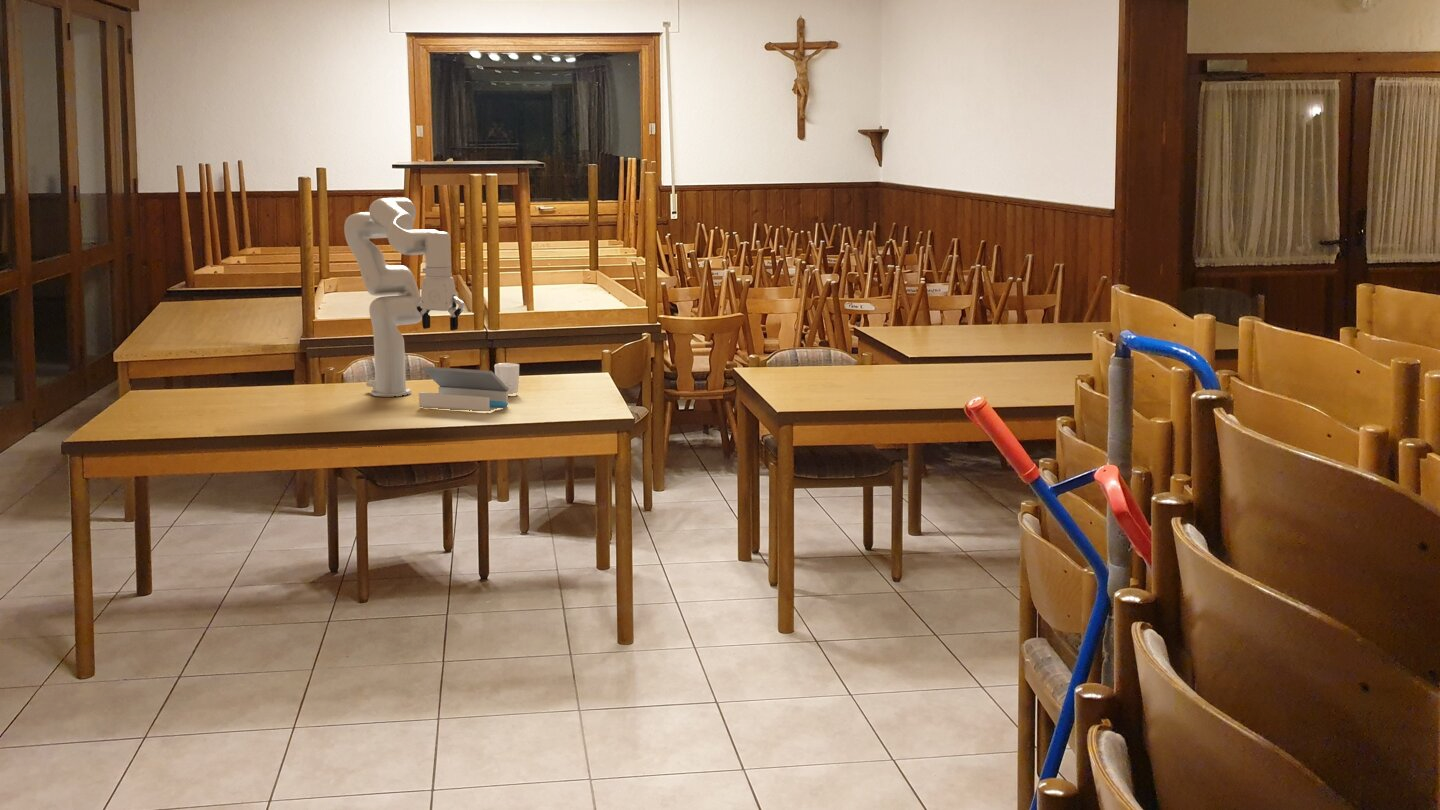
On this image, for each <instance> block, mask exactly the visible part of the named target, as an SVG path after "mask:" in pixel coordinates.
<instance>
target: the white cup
mask: <svg viewBox="0 0 1440 810" xmlns="http://www.w3.org/2000/svg"><path fill="white" fill-rule="evenodd" d="M493 367H494V374H495V375H496V376H497V377H498V378H499V379H500V380H501V381H502V382H503V383H504V384H505V385H506V386H507V387H508V388H509V389H508V394H513V393H517V392H518V393H519V387H520V386H519V383H520V381H519V379H520V364H519V363H513V362H502V363H495V364H494V366H493Z"/></svg>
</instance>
